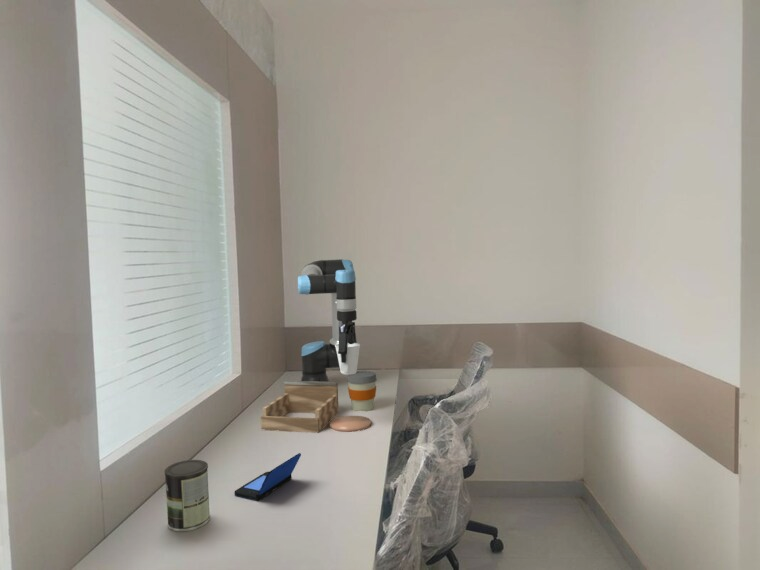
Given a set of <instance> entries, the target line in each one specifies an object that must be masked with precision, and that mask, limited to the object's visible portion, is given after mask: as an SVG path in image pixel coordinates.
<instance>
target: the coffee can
mask: <svg viewBox="0 0 760 570" xmlns="http://www.w3.org/2000/svg"><path fill="white" fill-rule="evenodd" d="M208 468H209V465H208V462H207V461H205V460H201V459H186V460H182V461H177V462H174V463H173V464H170V465H169V466H167V467H166V468H165V469H164V476H165V480H164V481H165V493H166V495H165V496H166V509H167V510H166V512H167V528H168V529H169V530H171V531H174V532H181V533H182V532H183V533H184V532H189V531H190V532H191V531H194V530H196V529H199V528H202V527H203V526H205V525H207V524H208V523H209V521H210V520H211V515H210V514H211V512H210V497H209V496H210V495H209V472H208Z"/></svg>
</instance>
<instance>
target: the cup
mask: <svg viewBox="0 0 760 570" xmlns="http://www.w3.org/2000/svg"><path fill="white" fill-rule="evenodd" d="M335 347H336V351H337V356H338V361H339V366H340V367H339V369H340V370H339V371H340V373H341V375H345V376H346V375H347V376H348V375H351V374H355V373H356V372H357V371H358V365H359V357H360V350H361V349H360V348H361V344H360V343H358V342H357V343H352V344H349V343H348V347H347V353H348V371H341V356H340V354H338V348H339V344H337V345H335Z"/></svg>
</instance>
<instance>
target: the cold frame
mask: <svg viewBox="0 0 760 570" xmlns="http://www.w3.org/2000/svg"><path fill="white" fill-rule="evenodd" d="M283 384H284V393H283V394H282V395H280V396H279V397H277V398H276V399H274V400H273V401H271V402H270V403H268V404H267V405H265V406H263V407H262V408H261V409H262V412H261V413H262V416H261V417H260V425H261V429H265V430H264V431H274V430H279V431H278V432H294V431H295V432H296V433H297V432H298V433H300V432H301V433H314V434H315V433H316V434H317V433H320V432H321V430H322V429H324V427H326V426H327V425H328V424H330V421H332V420H333V419H335V417H336V416H337V415H338V414H339V389H338V386H339V385H338V384H339V381H338V382H337V381H329V382H316V381H301V380H285V381H283ZM289 413H301V414H305V413H306V414H314V417H300V416H299V417H298V416H297V417H295V416H286V415H287V414H289ZM295 432H294V433H295Z"/></svg>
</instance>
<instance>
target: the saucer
mask: <svg viewBox="0 0 760 570" xmlns="http://www.w3.org/2000/svg"><path fill="white" fill-rule="evenodd" d="M370 425H371V426H372V420H371V418H369V417H366V416H362V415H345V416H339V417H336V418H335V417H334V418H333V419H332V420H331V421H330V422H329V427H330V429H331V430H332V431H333V430H334V431H337V432H341V433H342V432H343V433H344V432H345V433H346V432H347V433H350V432H352V431H353V432H359V431H358V430H360V431H363V429H364V430H366V428H367V429H368V427H369V426H370ZM371 426H370V427H371ZM370 427H369V428H370Z"/></svg>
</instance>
